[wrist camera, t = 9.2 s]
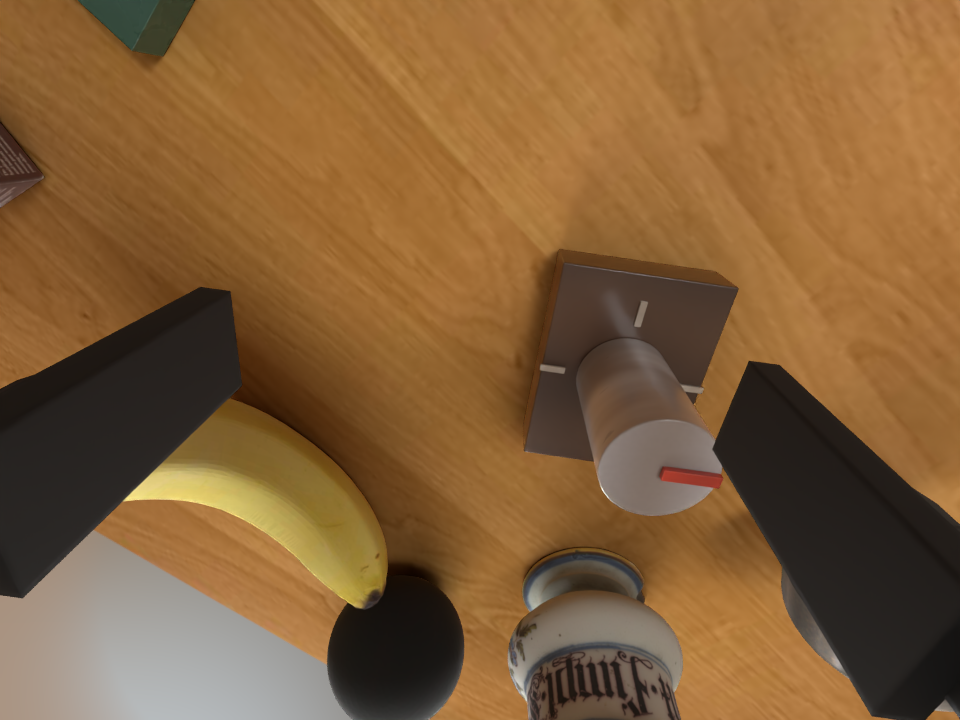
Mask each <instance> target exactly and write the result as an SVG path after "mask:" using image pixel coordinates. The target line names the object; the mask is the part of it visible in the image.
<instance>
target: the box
mask: <svg viewBox="0 0 960 720" xmlns="http://www.w3.org/2000/svg"><path fill="white" fill-rule="evenodd" d="M43 178H44V176H43V174H42V173H41V172H40V171H39V170H38V168H37V167H36V166H35V165H34V164H33V162H32V161H31V160H30V159H29V158H28V156H27V155H26V154H25V153H24V151H23V150H22V149H21V148H20V147H19V145H18V144H17V143H16V142H15V140H14V139H13V138H12V137H11V135H10V134H9V133H8V132H7V131H6V129H5V128H4V127H3V126H2V124H1V123H0V208H1V207H2V206H4V205H5V204H7V203H8V202H10V201H11V200H12V199H14V198H15V197H17V196H18V195H20V194H21V193H23V192H24V191H25V190H27V189H29V188H30V187H32V186H33V185H34V184H36V183H37V182H39V181H40V180H42V179H43Z"/></svg>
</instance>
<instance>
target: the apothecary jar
mask: <svg viewBox="0 0 960 720" xmlns="http://www.w3.org/2000/svg"><path fill="white" fill-rule="evenodd" d="M643 585H644V578H643V576H642V575H641V573H640V571H639V570H638V569H637V568H636V566H635V565H634V564H633V563H631V562H630V561H628V560H627V559H625V558H624V557H622V556H620V555H618V554H615V553H613V552H610V551H607V550H603V549H598V548H571V549H566V550H562V551H559V552H556V553H553V554H551V555H549V556H547V557H545V558H543V559H542V560H540V561H539V562H538V563H536V564H535V565H534V566H533V567H532V568H531V569H530V571H529V572H528V574H527V576H526V577H525V579H524V582H523V588H522V595H523V600H524V603H525V605H526V607H527V609H528V610H529V612H530V613H529V614H527V615H526V616H525V617H524V618H523V619H522V620H521V621H520V623H519V624H518V625H517V627H516V628H515V630H514V632H513V634H512V636H511V639H510V643H509V648H508V665H509V671H510V675H511V678H512V680H513V683H514V685H515V687H516V688H517V690H518V692H519V693H520V695H521V696H522V697H523V698H524V699H525V701H526V702H527V706H528V717H529V720H681V717H680V714H679V711H678V707H677V703H676V699H675V695H674V692H675V690H676V688H677V686H678V684H679V681H680V678H681V675H682V669H683V657H682V650H681V647H680V644H679V641H678V639H677V637H676V635H675V633H674V632H673V630H672V628H671V627H670V626H669V624H668V623H667V622H666V621H665V620H664V619H663V618H662V617H661V616H660V615H659V614H658V613H657V612H655V611H654V610H653V609H651V608H650V607H648V606H647V605H645V604H644V602H645V598H644V596H643V595H642V592H641V590H642V588H643Z"/></svg>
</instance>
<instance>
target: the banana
mask: <svg viewBox="0 0 960 720" xmlns="http://www.w3.org/2000/svg"><path fill="white" fill-rule="evenodd" d="M147 499H163V500H181V501H190V502H195V503H200V504H204V505H207V506H211V507H214V508H217V509H220V510H223V511H225V512H228V513H230V514H232V515H235V516H237V517H239V518H241V519H243V520H245V521H247V522H248V523H250V524H252V525H254V526H255V527H257V528H258V529H260V530H262V531H263V532H265V533H266V534H268V535H269V536H270V537H272V538H273V539H275V540H276V541H277V542H279V543H280V544H281V545H282V546H284V547H285V548H286V549H287V550H288V551H290V552H291V553H292V554H293V555H294V556H295V557H296V558H297V559H298V560H299V561H300V562H301V563H302V564H303V565H304V566H305V567H306V568H307V569H308V570H309V571H310V572H311V573H312V574H313V575H314V576H315V577H317V578H318V579H319V580H320V581H321V582H322V583H323V584H325V585H326V586H327V587H328V588H329V589H331V590H332V591H333V592H334V593H336V594H337V595H338V596H339V597H341V598H342V599H344V600H345V601H347V602H348V603H349V604H352V605H353V606H354V607H355V608H361V609H364V610H365V609H368V608H370V607H372V606H374V605H375V604H377V603H378V601H379V599H380V598H381V597H382V596H383V593H384V589H385V586H386V576H387V570H388V560H387V550H386V544H385V540H384V536H383V533H382V530H381V527H380V525H379V522H378V520H377V518H376V516H375V514H374V512H373V510H372V508H371V507H370V505H369V503H368V502H367V500H366V499H365V497H364V496H363V494H362V493H361V492H360V490H359V489H358V488H357V486H356V485H355V484H354V483H353V481H352V480H351V479H350V478H349V477H348V476H347V474H346V473H345V472H344V471H343V470H342V469H341V468H340V467H339V466H338V465H337V464H336V463H335V462H334V461H333V460H332V459H331V458H330V457H328V456H327V455H326V454H325V453H324V452H323V451H321V450H320V449H319V448H318V447H316V446H315V445H314V444H313V443H311V442H310V441H309V440H307V439H306V438H304V437H303V436H302V435H300V434H299V433H297V432H296V431H294V430H293V429H291V428H290V427H288V426H287V425H285V424H284V423H282V422H281V421H279V420H277V419H275V418H274V417H272V416H270V415H268V414H266V413H264V412H262V411H260V410H258V409H256V408H254V407H251V406H249V405H247V404H244V403H242V402H239V401H236V400H233V399H230V398H229V399H228V400H227V401H226V402H224V403H223V404H222V405H221V406H220V407H219V408H218V409H217V410H216V411H215V412H214V413H213V414H212V415H211V416H210V417H209V418H208V419H207V420H206V421H205V422H204V423H203V424H202V425H201V426H200V427H199V428H198V429H197V430H196V431H195V432H194V433H193V434H191V435H190V436H189V437H188V438H187V439H186V440H185V441H184V442H183V443H182V444H181V445H180V446H179V447H178V448H177V449H176V450H175V451H174V452H173V453H172V454H171V455H170V456H169V457H168V458H167V459H166V460H165V461H164V462H163V463H162V464H161V465H160V466H158V467H157V468H156V469H155V470H154V471H153V472H152V473H151V474H150V475H149V476H148V477H147V478H146V479H145V480H144V481H143V482H142V483H141V484H140V485H139V486H138V487H137V488H136V489H135V490H134V491H133V492H132V493H131V494H130V495H129V496H128V497H127V498H126V499H124V500H123V501H130V500H147Z"/></svg>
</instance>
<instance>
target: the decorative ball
mask: <svg viewBox="0 0 960 720" xmlns="http://www.w3.org/2000/svg"><path fill="white" fill-rule="evenodd" d="M463 659H464V635H463V630H462V625H461V622H460V619H459V616H458V614H457V612H456V610H455V608H454V606H453V604H452V603H451V601H450V600H449V599H448V597H447V596H446V595H445V594H444V593H443V592H442V591H441V590H440V589H439V588H438V587H436V586H435V585H433V584H432V583H430V582H428V581H426V580H424V579H421V578H418V577H414V576H408V575H395V576H389V577H386V586H385V589H384V593H383V596H382V597H381V598H380V599H379V601H378V603H377V604H375V605H374V606H372V607H370V608H368V609H365V610H364V609H361V608H355V607H354V606H353V605H352V604H349V603H347V605H346V606H345V607H344V609H343V610H342V612H341V613H340V615H339V617H338V619H337V621H336V623H335V625H334V628H333V631H332V634H331V637H330V641H329V646H328V655H327V667H328V675H329V680H330V685H331V688H332V691H333V693H334V695H335V698H336V699H337V701H338V703H339V705H340V706H341V707H342V709H343V710H344V711H345V712H346V714H347V715H348V716H349V717H350V718H351V719H353V720H429V719H430V718H432V717H433V716H434V715H435V714H436V713H437V712H438V711H439V710H440V709H441V708H442V707H443V706H444V704H445V703H446V702H447V700H448V699H449V697H450V696H451V694H452V692H453V690H454V688H455V686H456V684H457V682H458V679H459V676H460V673H461V669H462V665H463Z"/></svg>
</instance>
